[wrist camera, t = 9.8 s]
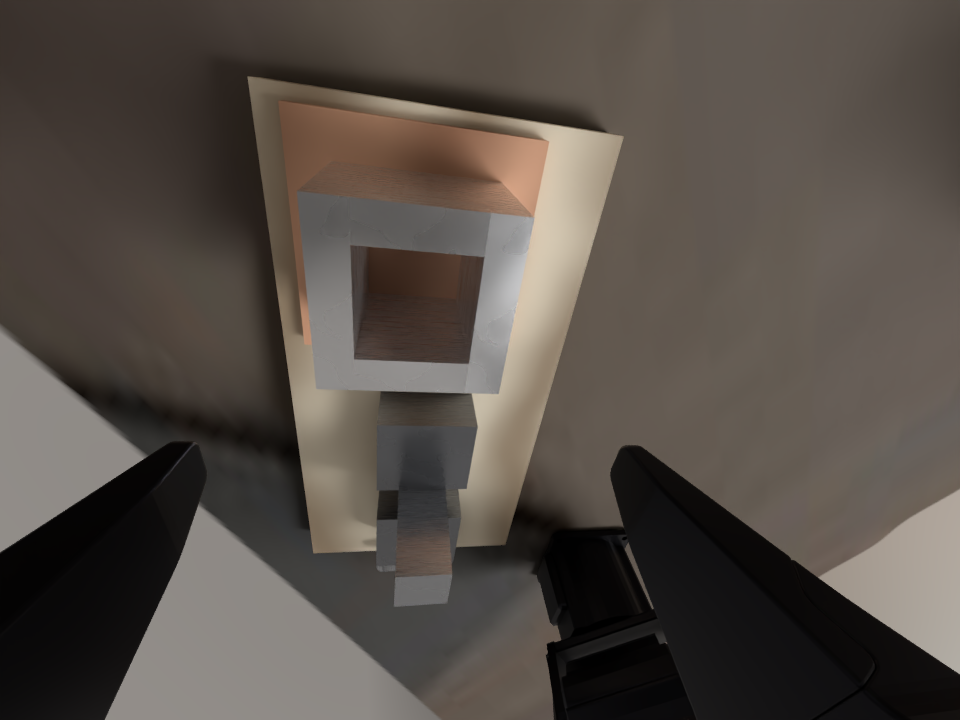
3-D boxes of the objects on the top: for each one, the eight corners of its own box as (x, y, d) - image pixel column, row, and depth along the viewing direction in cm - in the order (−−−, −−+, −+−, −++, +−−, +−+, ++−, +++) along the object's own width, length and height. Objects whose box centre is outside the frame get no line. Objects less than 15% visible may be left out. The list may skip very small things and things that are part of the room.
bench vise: (473, 393, 21) (495, 508, 15) (448, 547, 28) (456, 664, 23) (378, 391, 20) (364, 511, 14) (377, 550, 28) (367, 672, 22)
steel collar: (501, 182, 15) (534, 217, 11) (479, 325, 18) (498, 394, 14) (331, 160, 14) (296, 191, 10) (339, 316, 17) (316, 389, 13)
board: (608, 132, 17) (630, 138, 15) (501, 526, 30) (506, 552, 29) (262, 77, 14) (240, 75, 12) (318, 532, 28) (311, 561, 26)
